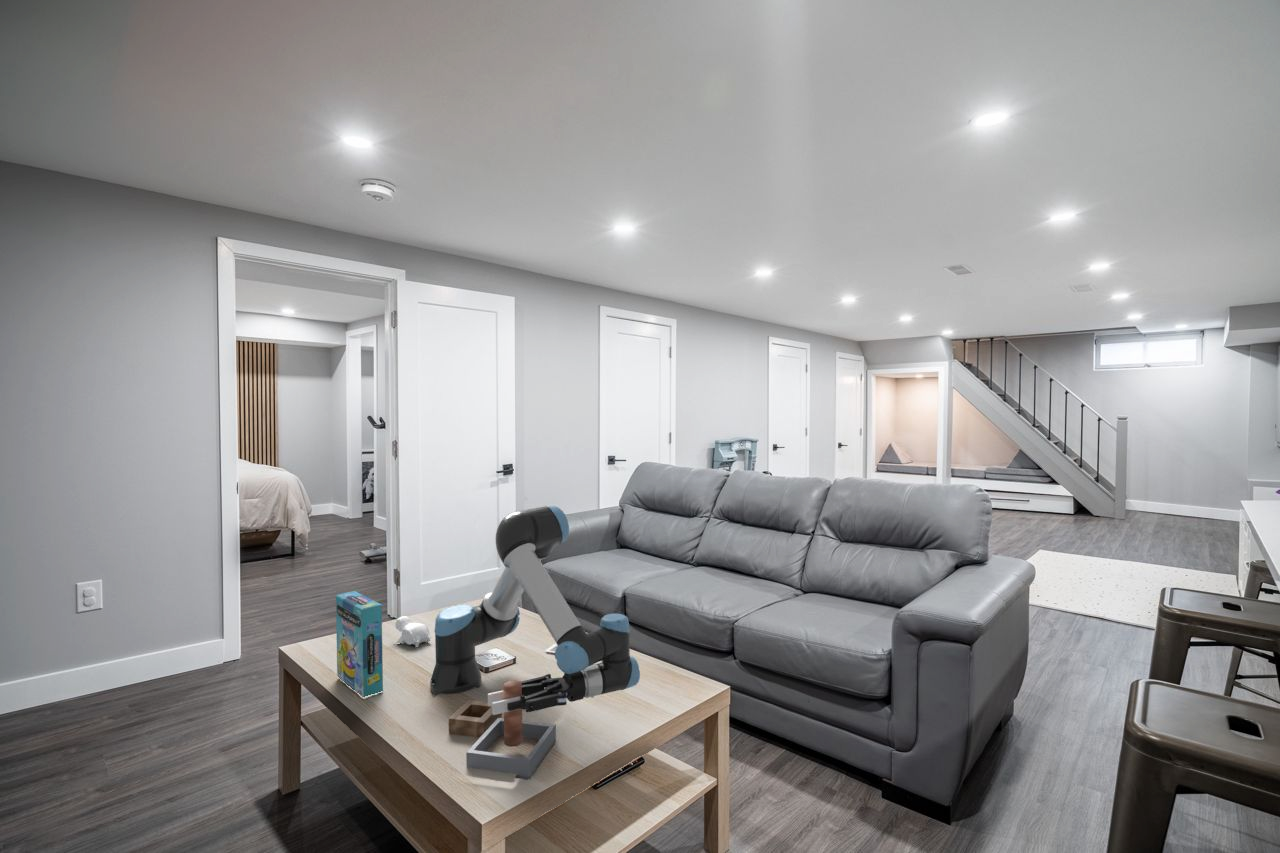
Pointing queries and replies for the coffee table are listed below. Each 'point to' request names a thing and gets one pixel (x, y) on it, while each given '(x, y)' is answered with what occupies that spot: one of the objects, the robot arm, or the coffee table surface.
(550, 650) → the touchpad
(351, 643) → the game box
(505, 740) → the dowel
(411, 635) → the white animal figurine
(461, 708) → the socket block
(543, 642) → the coffee table surface
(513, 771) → the tray
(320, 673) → the coffee table surface
